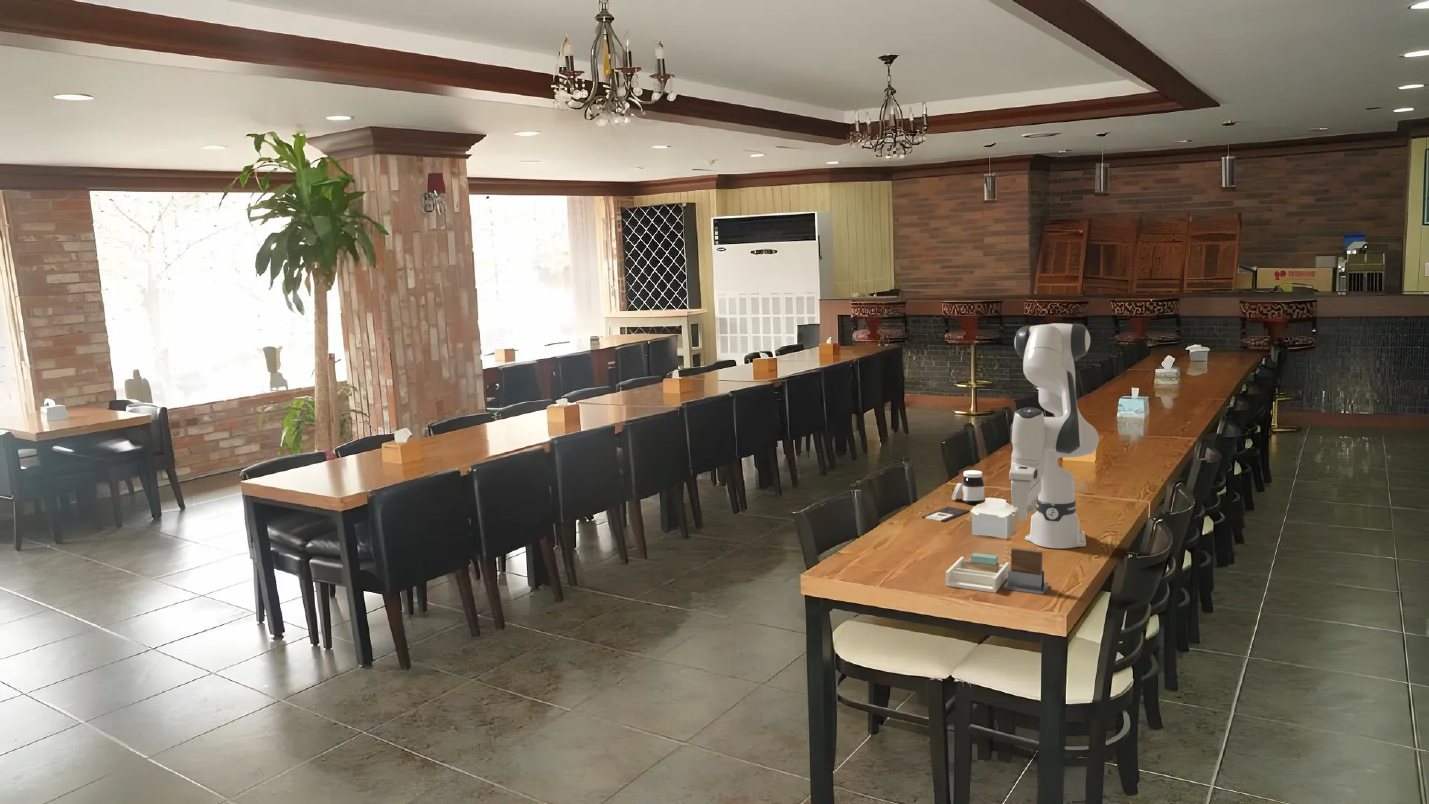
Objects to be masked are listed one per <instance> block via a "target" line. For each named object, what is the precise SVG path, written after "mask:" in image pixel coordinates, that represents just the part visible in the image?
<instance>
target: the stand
mask: <svg viewBox="0 0 1429 804" xmlns="http://www.w3.org/2000/svg"><path fill="white" fill-rule="evenodd" d="M1041 585H1042V586H1041ZM1049 587H1050V583H1049V582H1045V570H1042V575H1040V574H1033V573H1025V572H1017V571H1011V570H1010V569H1009V570H1008V578H1007V579H1006V580H1005V582H1004V583H1003V584H1002V590H1007V591H1009V590H1010V591H1015V592H1022V593H1028V594H1035V595H1036V594H1038V595H1045V593H1046V591H1047V589H1048V588H1049Z"/></svg>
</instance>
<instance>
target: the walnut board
mask: <svg viewBox="0 0 1429 804" xmlns="http://www.w3.org/2000/svg"><path fill="white" fill-rule="evenodd" d="M1010 560H1011V561H1010V564H1011V565H1010V571H1017V572H1025V573H1033V574H1040V575H1042V571H1043V550H1039V549H1033V548H1022V547H1012V548H1011V558H1010ZM1041 586H1042V585H1041Z"/></svg>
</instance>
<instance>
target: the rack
mask: <svg viewBox="0 0 1429 804" xmlns="http://www.w3.org/2000/svg"><path fill="white" fill-rule="evenodd" d="M966 561H967V560H965V556H960V557H959V559H958V560H956V561H955V563H953V564H952V565H951V566H950V567H949V568H948V569H947V570H946V571H945V587H951V588H952V587H953V588H959V589H967V590H972V591H981V592H985V593H986V592H987V593H994V594H995V593H997V591H998V590H999V589H1000V588H1001V587H1002V586H1003V585H1004V584H1005V583H1006V581H1007V580H1008V570H1009V571H1010V562H1007V561H1006V562H1005V564H999V572H998V573H991V572H984V571H976V570H969V569H966Z"/></svg>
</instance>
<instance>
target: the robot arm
mask: <svg viewBox="0 0 1429 804" xmlns="http://www.w3.org/2000/svg"><path fill="white" fill-rule="evenodd" d="M1013 343H1014V349H1015V351H1016V354H1017V355H1018V356H1019V357H1020V358H1022V360H1023V363H1022V368H1023V369H1022V370H1023V374H1024V376H1025V378H1026V379H1027V380H1028V381H1029V382H1030V383H1031V384H1032V385H1033V386H1035V387H1037V388H1038V403H1039V405H1040V407H1041V408H1042V409H1044V410H1045V411H1047V412H1048V413H1052V414H1053V415H1054V416H1044V412H1043V410H1042V409H1039V408H1036V407H1024V408H1019V409H1017V410H1016V411H1014V415H1013V421H1012V423H1011V424H1010V427H1009V430H1010V431H1009V434H1010V435H1009V439H1010V440H1009V442H1010V443H1011V444H1012V452H1011V459H1010V461H1011V462H1010V470H1009V473H1008V474H1009V475H1008V478H1009V480H1010V481H1011V482H1010V491H1011V504H1012V506H1013V508H1017V512H1018V520H1019V522H1026V521H1027V519H1028V513H1031V514H1032V515H1031V516H1030V517H1031V518H1030V533H1029V534H1027V535H1025V537H1024V539H1025V541H1029V542H1031V543H1033V544H1034V545H1036V546H1039V547H1043V548H1050V549H1071V548H1077V547H1078V548H1079V547H1081V548H1082V547H1083V548H1084V547H1087V541H1086V540H1087V539H1086V534H1085V533H1086V532H1085V531H1083V530H1082V529H1080V519H1079V517H1078V515H1077V513H1076V512H1077V501H1076V500H1075V499H1076V497H1075V494H1076V493H1075V492H1076V489H1075V486H1076V484H1075V483H1076V480H1075V477H1074V475H1073V473H1071V471H1069V470H1067V469H1065V468H1063V467H1060V466H1059V458H1060V459H1063V458H1079V457H1084V456H1088V455H1091V454H1094V453H1095V451H1096V450H1097V448H1098V446H1099V441H1100V439H1099V433H1098V431H1097V429H1096V428H1095V427H1094V426H1093V425H1092V424H1091V423H1089V422H1088V421H1087V420H1086V419H1085V418H1084V417H1083V415H1082V413H1081V412H1080V410H1079V406H1078V403H1077V402H1078V401H1077V394H1076V393H1077V392H1076V391H1077V389H1076V369H1075V368H1076V367H1075V362H1077V361H1079V359H1080V358H1083V357H1084V356H1085V355H1086V354H1088V351H1089V348H1090V345H1091V335H1090V333H1089V330H1088V328H1087V327H1086V326H1085V325H1084V324H1081V323H1073V324H1072V323H1064V322H1063V323H1060V322H1058V323H1055V322H1054V323H1048V324H1047V323H1046V324H1037V325H1031V324H1030V325H1025V326H1022V327H1020V328H1019V329H1018V330H1017V331H1016V333H1015V337H1014V342H1013ZM1035 506H1036V507H1035ZM1035 509H1036V511H1035ZM1034 512H1035V513H1034Z"/></svg>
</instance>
